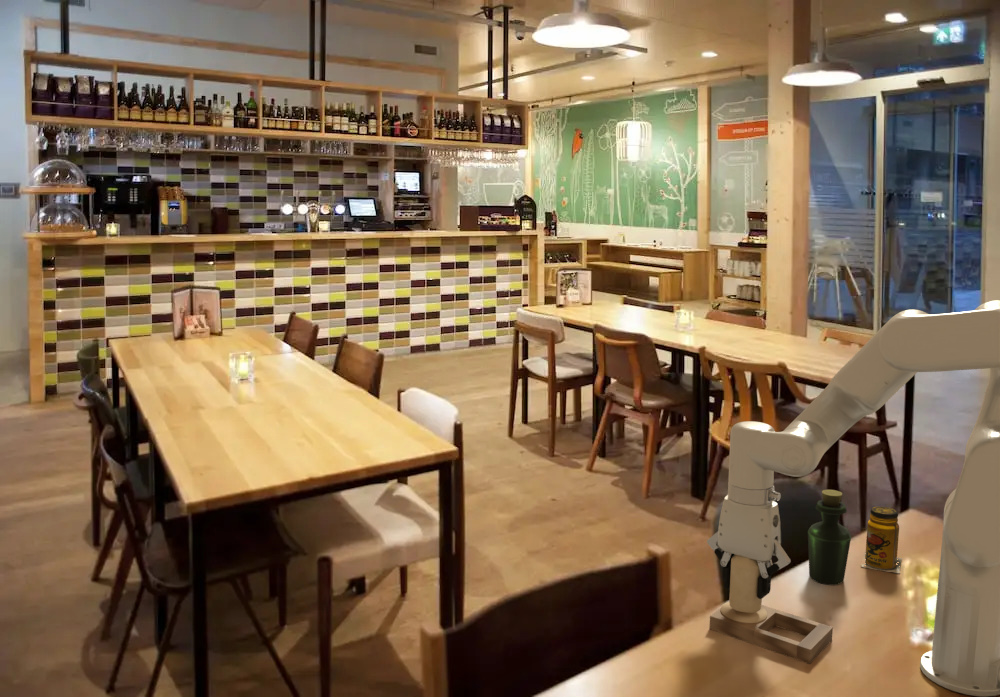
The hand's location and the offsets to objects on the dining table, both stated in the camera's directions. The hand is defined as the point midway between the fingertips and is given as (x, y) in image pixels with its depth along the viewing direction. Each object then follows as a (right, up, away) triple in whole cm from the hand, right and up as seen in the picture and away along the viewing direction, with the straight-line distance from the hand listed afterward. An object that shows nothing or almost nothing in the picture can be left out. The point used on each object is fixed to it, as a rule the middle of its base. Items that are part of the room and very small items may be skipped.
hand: (745, 590), depth 153 cm
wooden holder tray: (+4, -7, -2) cm, 8 cm away
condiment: (+36, -3, +28) cm, 46 cm away
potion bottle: (+22, -4, +21) cm, 31 cm away
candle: (0, -3, 0) cm, 3 cm away
